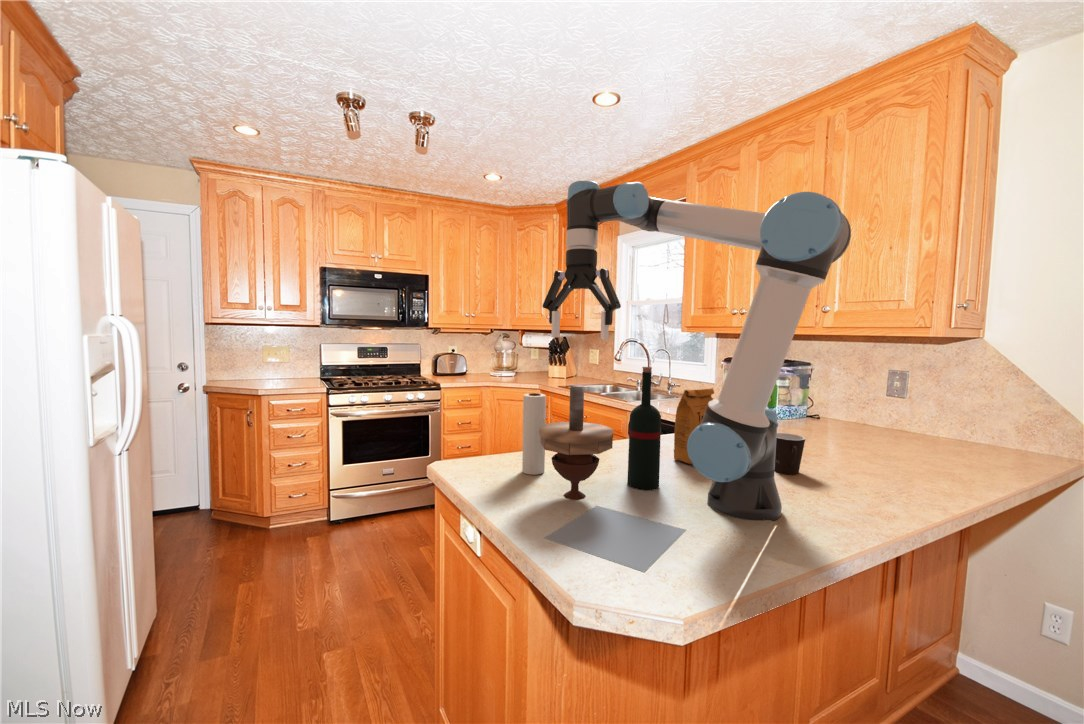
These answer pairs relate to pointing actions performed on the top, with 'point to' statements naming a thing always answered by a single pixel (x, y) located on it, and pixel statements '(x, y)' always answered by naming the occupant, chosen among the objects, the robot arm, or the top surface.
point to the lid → (576, 431)
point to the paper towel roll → (533, 433)
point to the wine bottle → (644, 440)
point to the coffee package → (689, 419)
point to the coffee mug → (788, 453)
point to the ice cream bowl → (575, 471)
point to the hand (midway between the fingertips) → (579, 338)
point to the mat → (618, 537)
